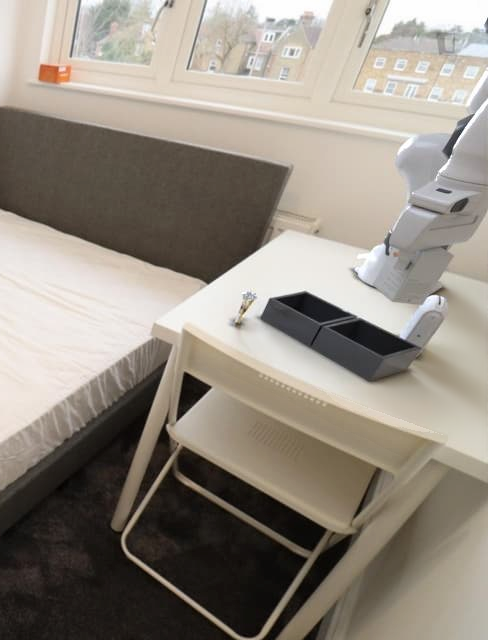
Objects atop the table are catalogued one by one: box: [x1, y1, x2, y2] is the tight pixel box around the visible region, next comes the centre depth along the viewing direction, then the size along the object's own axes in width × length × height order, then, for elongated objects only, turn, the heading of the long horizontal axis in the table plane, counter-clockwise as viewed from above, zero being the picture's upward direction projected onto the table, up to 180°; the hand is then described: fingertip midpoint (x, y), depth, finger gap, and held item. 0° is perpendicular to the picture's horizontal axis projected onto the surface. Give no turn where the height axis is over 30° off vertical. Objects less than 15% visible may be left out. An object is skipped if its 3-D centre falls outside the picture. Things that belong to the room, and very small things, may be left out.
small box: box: [372, 246, 455, 306], centre depth 99 cm, size 8×6×10 cm
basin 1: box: [259, 290, 359, 347], centre depth 118 cm, size 13×13×6 cm
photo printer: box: [399, 294, 449, 358], centre depth 111 cm, size 10×4×12 cm, turn 140°
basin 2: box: [310, 317, 422, 382], centre depth 108 cm, size 13×13×6 cm
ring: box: [234, 290, 258, 324], centre depth 118 cm, size 7×3×8 cm, turn 139°
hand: (413, 266), depth 98 cm, fingers closed on small box, 8 cm apart
